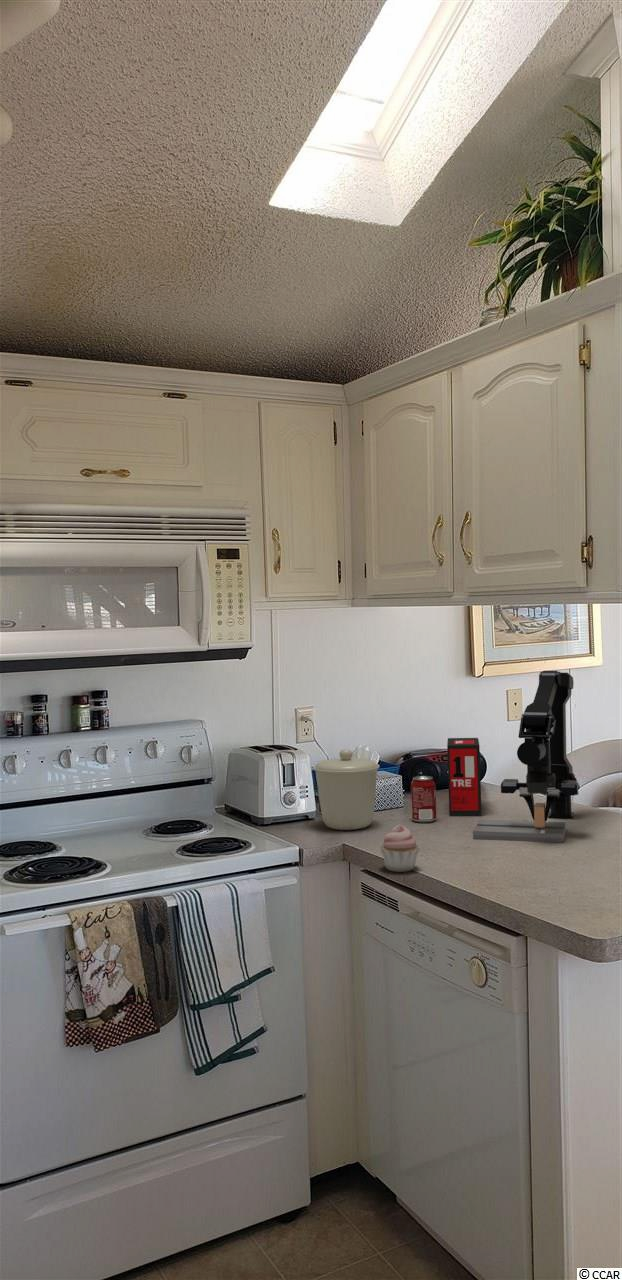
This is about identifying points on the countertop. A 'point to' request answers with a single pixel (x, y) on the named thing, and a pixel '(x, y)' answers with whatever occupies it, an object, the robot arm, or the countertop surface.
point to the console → (519, 831)
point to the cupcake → (399, 850)
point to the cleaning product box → (464, 777)
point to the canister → (347, 791)
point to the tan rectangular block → (539, 815)
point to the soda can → (423, 799)
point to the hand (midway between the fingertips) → (540, 820)
